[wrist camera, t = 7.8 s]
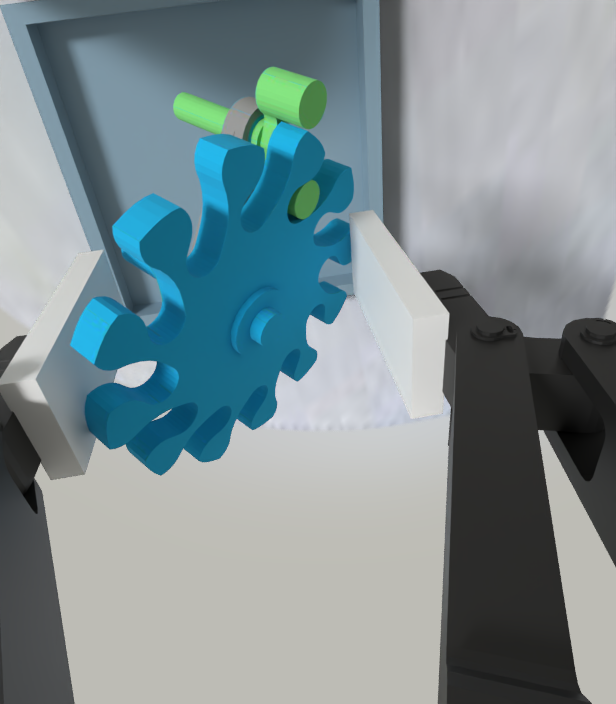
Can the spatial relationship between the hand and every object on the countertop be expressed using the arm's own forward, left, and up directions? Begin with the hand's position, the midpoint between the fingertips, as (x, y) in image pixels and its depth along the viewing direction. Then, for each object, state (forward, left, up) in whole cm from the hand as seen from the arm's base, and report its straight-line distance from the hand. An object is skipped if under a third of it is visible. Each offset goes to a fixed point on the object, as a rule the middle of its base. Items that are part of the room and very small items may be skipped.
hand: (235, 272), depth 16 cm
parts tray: (0, 0, -15) cm, 15 cm away
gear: (0, 0, -2) cm, 2 cm away
